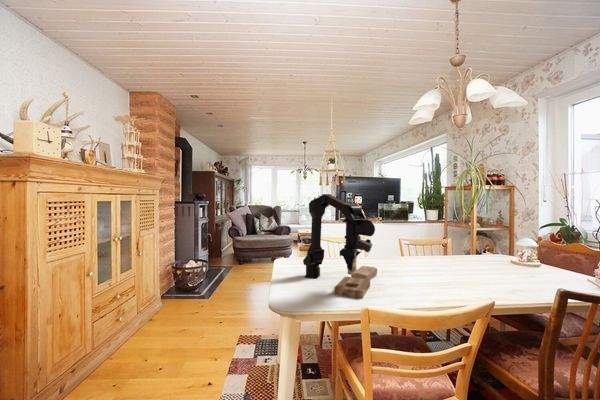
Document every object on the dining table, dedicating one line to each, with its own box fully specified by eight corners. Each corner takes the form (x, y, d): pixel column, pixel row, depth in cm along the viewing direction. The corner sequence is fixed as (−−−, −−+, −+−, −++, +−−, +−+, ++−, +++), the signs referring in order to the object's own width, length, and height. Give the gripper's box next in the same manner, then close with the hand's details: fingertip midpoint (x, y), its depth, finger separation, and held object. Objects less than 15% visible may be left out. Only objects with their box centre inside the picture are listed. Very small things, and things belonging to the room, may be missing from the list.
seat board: (334, 294, 122) (334, 287, 122) (344, 282, 138) (345, 276, 138) (362, 298, 117) (362, 291, 117) (370, 286, 133) (370, 279, 133)
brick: (366, 283, 138) (366, 274, 138) (350, 280, 143) (350, 271, 143) (377, 276, 152) (377, 267, 152) (362, 273, 156) (362, 265, 156)
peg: (345, 274, 124) (346, 255, 123) (348, 271, 127) (348, 254, 127) (355, 275, 122) (355, 256, 122) (357, 273, 126) (357, 254, 126)
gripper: (367, 237, 113) (366, 276, 113) (374, 232, 130) (373, 266, 130) (339, 235, 117) (339, 273, 117) (350, 230, 134) (349, 263, 134)
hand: (351, 269), depth 125 cm, fingers closed on peg, 4 cm apart
